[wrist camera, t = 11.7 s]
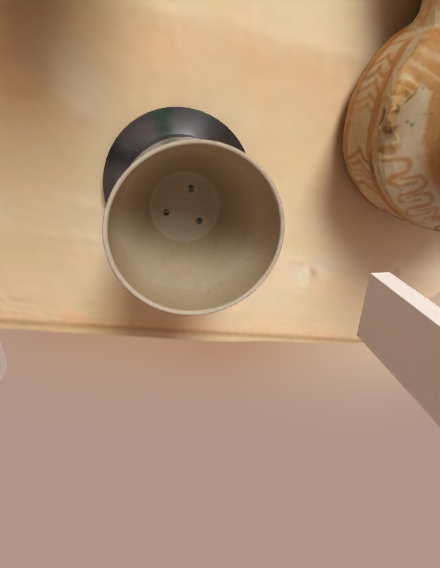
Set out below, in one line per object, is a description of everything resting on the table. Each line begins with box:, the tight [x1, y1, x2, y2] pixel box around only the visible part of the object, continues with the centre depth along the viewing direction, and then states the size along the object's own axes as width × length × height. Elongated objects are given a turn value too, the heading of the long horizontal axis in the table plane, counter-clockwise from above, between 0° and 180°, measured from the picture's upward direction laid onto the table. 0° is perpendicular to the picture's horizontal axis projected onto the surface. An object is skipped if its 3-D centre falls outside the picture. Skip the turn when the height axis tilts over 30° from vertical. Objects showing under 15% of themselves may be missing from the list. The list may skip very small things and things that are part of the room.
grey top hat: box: [103, 107, 246, 221], centre depth 30 cm, size 13×13×8 cm
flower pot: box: [102, 139, 284, 315], centre depth 23 cm, size 10×10×7 cm
